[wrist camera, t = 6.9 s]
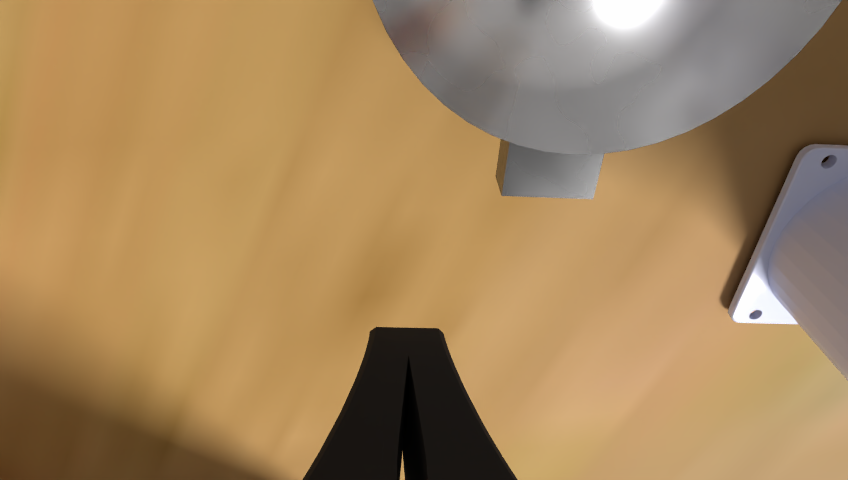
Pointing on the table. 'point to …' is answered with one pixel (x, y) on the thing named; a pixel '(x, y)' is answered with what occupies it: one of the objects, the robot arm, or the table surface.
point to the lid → (597, 63)
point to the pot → (546, 173)
